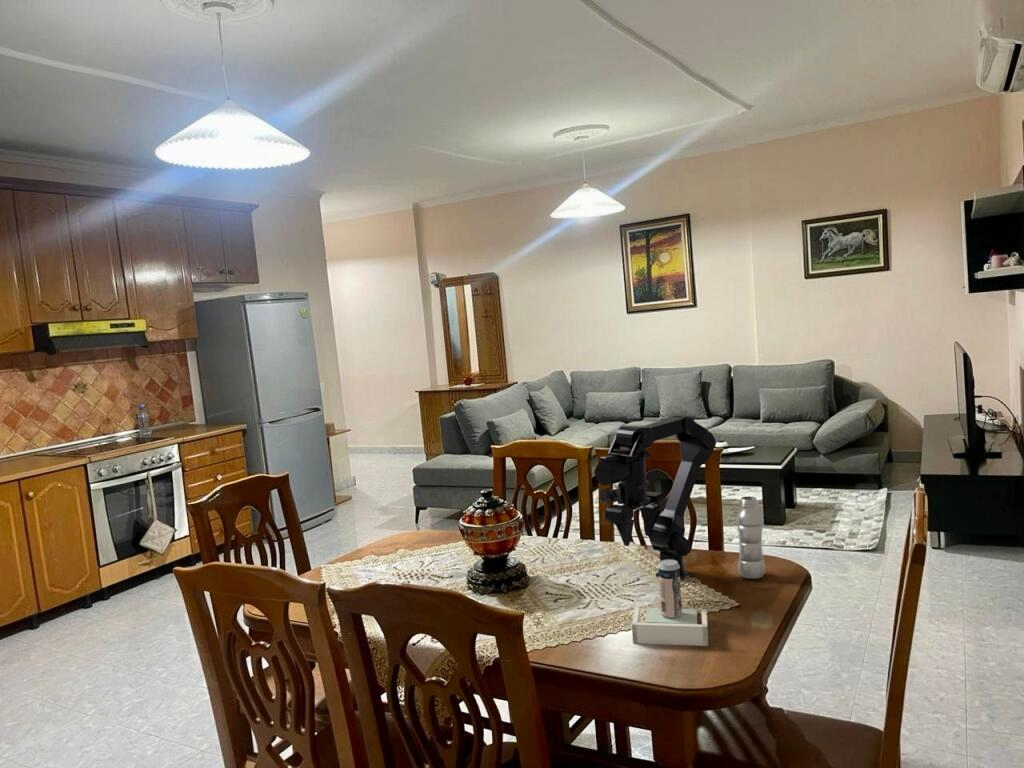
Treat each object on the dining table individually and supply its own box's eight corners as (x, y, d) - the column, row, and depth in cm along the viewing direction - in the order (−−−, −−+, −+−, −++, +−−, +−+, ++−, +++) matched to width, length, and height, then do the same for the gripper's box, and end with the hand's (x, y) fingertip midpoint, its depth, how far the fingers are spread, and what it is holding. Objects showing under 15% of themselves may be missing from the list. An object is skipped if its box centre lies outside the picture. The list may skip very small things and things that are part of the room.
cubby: (635, 624, 160) (634, 606, 159) (707, 626, 156) (706, 608, 156) (632, 643, 151) (631, 624, 151) (708, 645, 147) (707, 626, 147)
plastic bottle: (738, 581, 180) (735, 501, 178) (738, 571, 186) (735, 494, 185) (766, 582, 178) (763, 502, 176) (765, 572, 185) (762, 494, 183)
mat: (646, 610, 167) (646, 607, 167) (696, 611, 164) (696, 609, 164) (645, 624, 159) (645, 621, 159) (697, 626, 157) (697, 623, 157)
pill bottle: (682, 619, 159) (680, 565, 158) (660, 619, 160) (657, 565, 159) (682, 610, 164) (679, 558, 163) (660, 610, 165) (657, 558, 164)
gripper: (627, 467, 190) (631, 526, 191) (583, 482, 176) (587, 545, 178) (665, 471, 182) (668, 532, 184) (622, 487, 169) (626, 553, 170)
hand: (637, 540), depth 179 cm, fingers open, 9 cm apart
